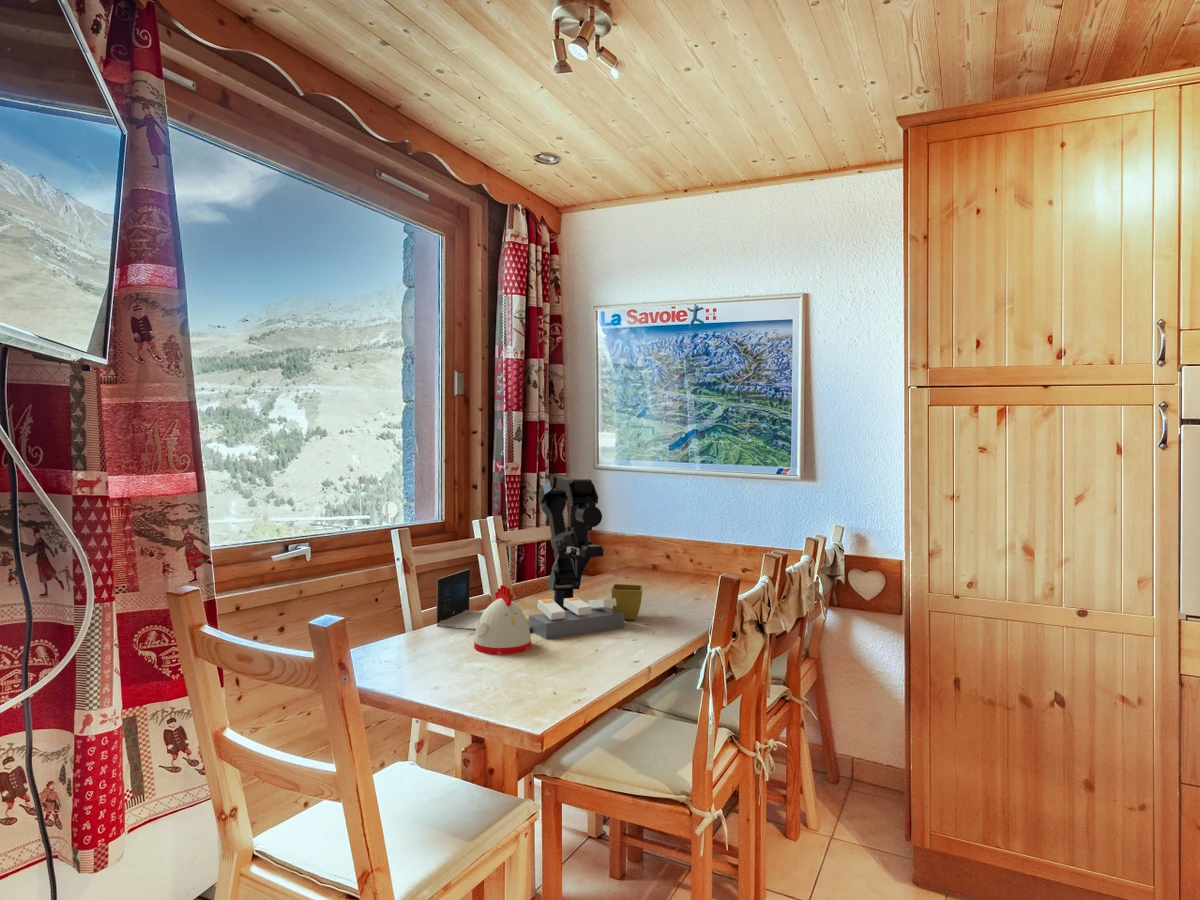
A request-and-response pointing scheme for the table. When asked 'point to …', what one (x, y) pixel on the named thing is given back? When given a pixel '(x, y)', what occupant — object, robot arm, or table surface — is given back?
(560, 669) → the table surface
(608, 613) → the power strip
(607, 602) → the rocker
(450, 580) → the laptop
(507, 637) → the kitchen timer
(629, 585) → the flower pot
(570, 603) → the block
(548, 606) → the rocker
